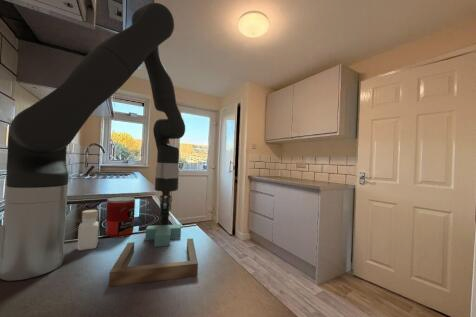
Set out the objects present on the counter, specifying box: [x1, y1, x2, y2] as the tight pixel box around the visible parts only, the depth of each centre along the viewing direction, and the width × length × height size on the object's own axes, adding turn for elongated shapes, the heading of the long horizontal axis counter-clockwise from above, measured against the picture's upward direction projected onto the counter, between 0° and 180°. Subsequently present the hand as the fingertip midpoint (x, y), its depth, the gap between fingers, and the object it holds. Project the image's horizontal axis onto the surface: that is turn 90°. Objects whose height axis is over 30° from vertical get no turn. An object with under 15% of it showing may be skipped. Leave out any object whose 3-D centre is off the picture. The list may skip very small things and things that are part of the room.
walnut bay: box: [108, 238, 199, 287], centre depth 46 cm, size 16×14×2 cm
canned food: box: [105, 196, 136, 238], centre depth 64 cm, size 8×8×11 cm
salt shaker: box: [76, 209, 100, 251], centre depth 53 cm, size 4×4×10 cm
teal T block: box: [145, 223, 182, 248], centre depth 61 cm, size 10×10×3 cm
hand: (164, 227), depth 69 cm, fingers closed
